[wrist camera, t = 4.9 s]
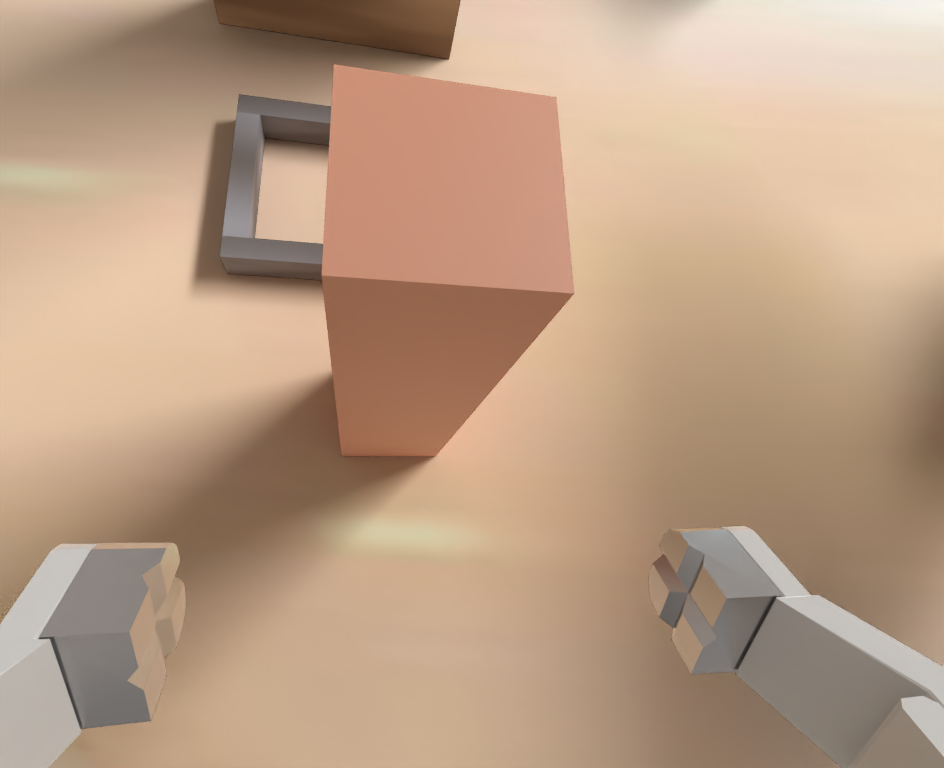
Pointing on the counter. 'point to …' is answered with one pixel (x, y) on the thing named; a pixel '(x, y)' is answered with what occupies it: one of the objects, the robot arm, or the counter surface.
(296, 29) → the socket stand
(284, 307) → the counter surface
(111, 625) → the robot arm
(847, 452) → the counter surface
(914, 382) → the counter surface
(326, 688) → the counter surface
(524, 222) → the peg
